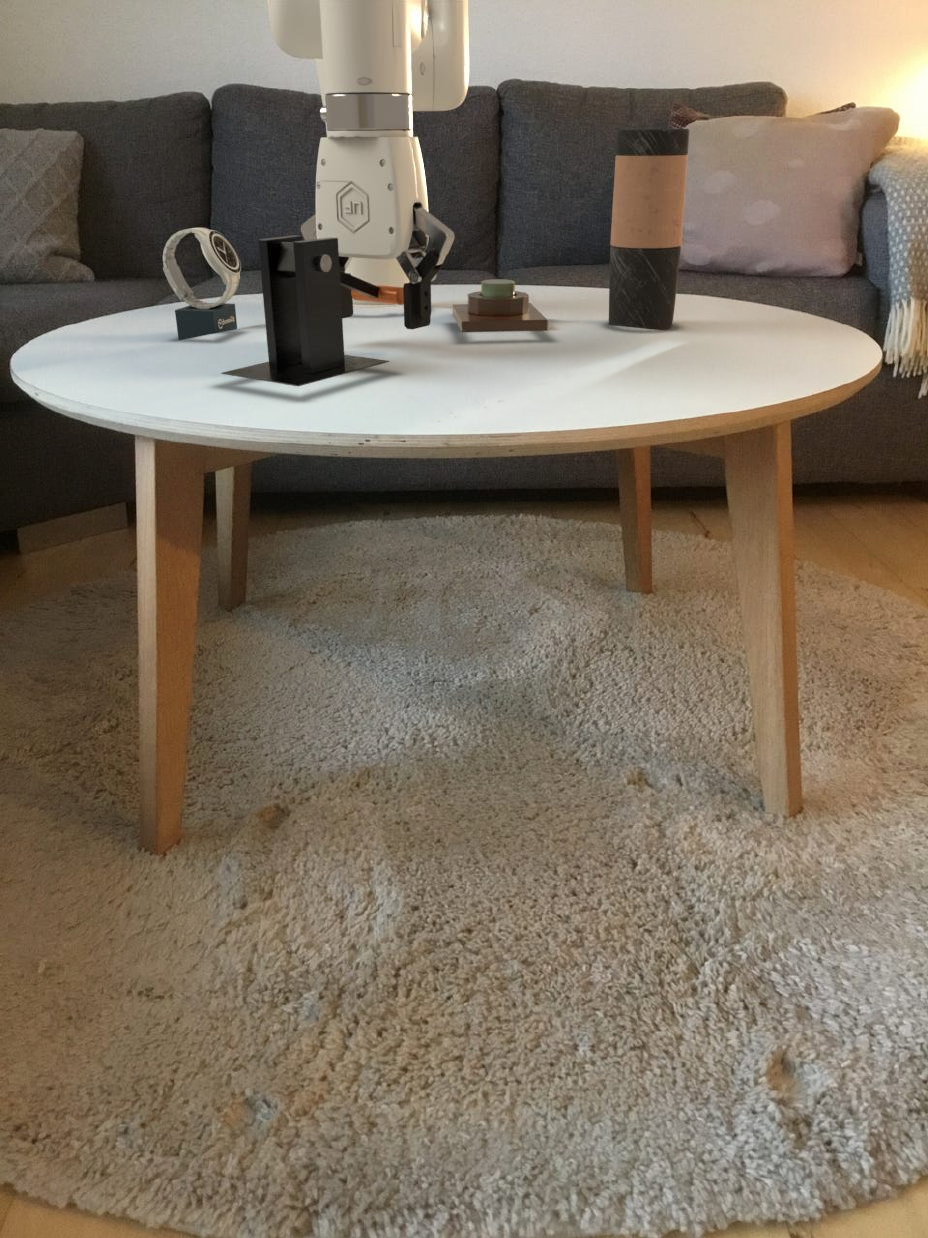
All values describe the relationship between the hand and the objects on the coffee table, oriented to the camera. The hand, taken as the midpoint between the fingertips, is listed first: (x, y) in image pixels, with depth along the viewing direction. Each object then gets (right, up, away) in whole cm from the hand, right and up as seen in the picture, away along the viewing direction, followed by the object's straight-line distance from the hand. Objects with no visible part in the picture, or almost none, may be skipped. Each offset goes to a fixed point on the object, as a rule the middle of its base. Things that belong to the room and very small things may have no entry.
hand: (378, 322), depth 95 cm
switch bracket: (-6, -7, -6) cm, 11 cm away
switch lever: (-3, +1, -6) cm, 7 cm away
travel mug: (+28, +5, +18) cm, 34 cm away
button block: (+12, +3, +16) cm, 20 cm away
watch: (-20, +2, +14) cm, 24 cm away
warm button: (+12, +7, +14) cm, 20 cm away
